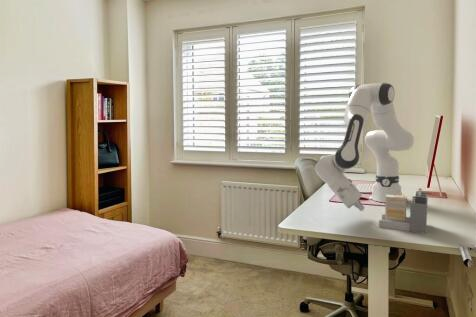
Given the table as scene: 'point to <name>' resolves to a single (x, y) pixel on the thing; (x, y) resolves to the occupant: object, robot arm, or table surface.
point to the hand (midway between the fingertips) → (363, 209)
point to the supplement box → (395, 208)
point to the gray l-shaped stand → (411, 215)
